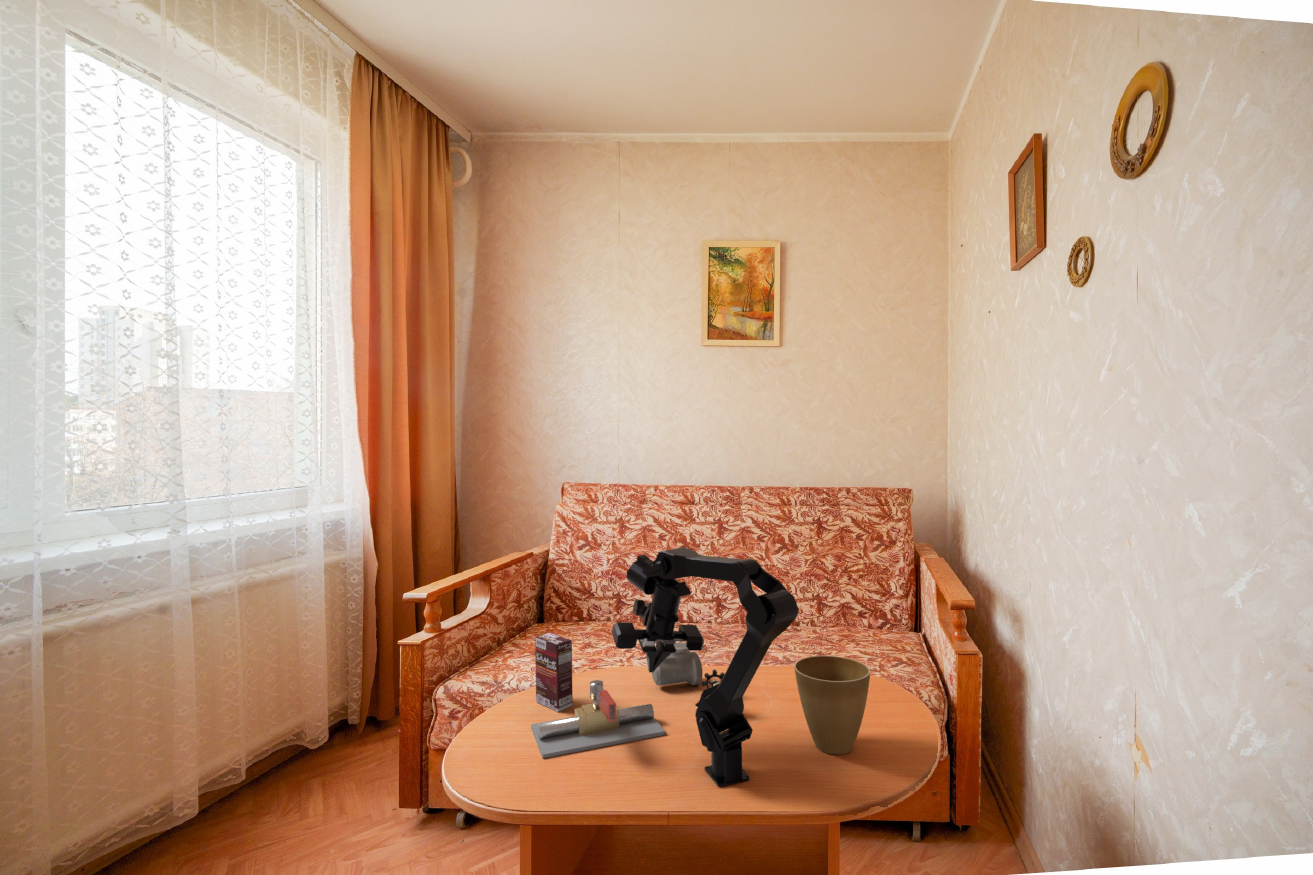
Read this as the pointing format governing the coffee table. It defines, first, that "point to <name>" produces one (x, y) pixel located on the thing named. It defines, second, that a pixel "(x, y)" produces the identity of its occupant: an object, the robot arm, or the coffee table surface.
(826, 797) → the coffee table surface
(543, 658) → the supplement box
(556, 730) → the valve body
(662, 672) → the pipe fitting
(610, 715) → the valve lever
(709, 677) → the valve
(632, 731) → the mounting board
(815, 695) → the plant pot
